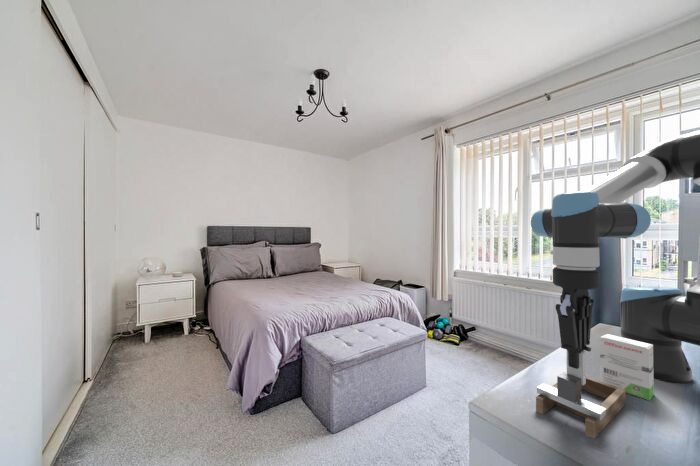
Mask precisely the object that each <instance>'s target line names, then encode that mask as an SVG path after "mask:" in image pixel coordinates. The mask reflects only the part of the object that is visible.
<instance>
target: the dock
mask: <svg viewBox="0 0 700 466" xmlns="http://www.w3.org/2000/svg"><path fill="white" fill-rule="evenodd" d="M551 386H552V387H554V388H556V389H557V382H556V383H555V384H553V385H551ZM581 391H584V392H587V393H591V394H593V395H595V396H598V397H601V398H603V399H605V400H603V401H602V402H601V404H599V406H601V407H603V408H606V415H605V416H604V417H603V418H602V419H601V421H600V420H598V419H595V418H593V417H591V416H589V415H586V414H584V413H582V412H579V411H577V410H575V409H573V408H570V407H568V406H566V405H563V404H561V403H559V402H557V401H554V400H552V399H550V398H548V397H545V396H543V395H541V394H538V395H537V396H535V412H537V413H539V414H541V415H544V414H545V413H547V411H549V410H550V409H552V408H553V407H554V406H558V407H560V408H561V409H564V410H567V411H569V412H571V413H574V414H575V415H578V416H579V417H583V418H585V420H584V421H585V422H584V423H585V424H584V428H585V429H584V432H585V433H584V434H585V436H587V437H590V438H592V439H595V438H596V437H597V436H598V435H599V434H600V433H601V432H602V431H603V429H605V427H607V425H608V424H609V423H610V422H611V421H612V419H613V418H614V417H615V416H616V415H617V414H618V413H619V412H620V411H621V410H622V409H623V407H624V406H625V405H626V404H627V403H626V402H627V401H626V400H627V399H626V398H627V397H626V396H627V393H626V390H624V389H621V388H618V387H615V386H612V385H610V384H607V383H604V382H601V380H597V379H596V378H595V379H594V378H592V377H589V376H586V384H585V385H581Z"/></svg>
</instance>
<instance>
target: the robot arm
mask: <svg viewBox="0 0 700 466" xmlns="http://www.w3.org/2000/svg"><path fill="white" fill-rule="evenodd" d="M681 179H683V180H684V179H692V183H694V184H696V185H697V186H699V187H700V129H698V130H695V131H691V132H687V133H682V134H679V135H676V136H673V137H670V138H668V139H666V140H663V141H661V142H658V143H656V144H655V145H653V146H651V147H648V148H647V149H645V150H643V151H642V152H640V153H637V154H636V155H634V156H632V157H631V158H630V159H628V160H626V161H625V162H624V163H623V165H622V167H621V168H620V169H618V170H617V171H615V172H612V173H611V174H609V175H608V176H606V177H604V178H602V179H601V180H599V181H597V182H596V183H594V184H592V185H591V186H589V187H587V188H585V189H584V190H581V191H573V192H571V191H570V192H565V193H560V194H556V195H555V196H554V197H553V199H552V205H551V206H552V207H551V208H544V209H540V210H537V211H535V212H534V213H533V215H531V219H530V227H531V230H532V231H533V233H534V234H535V235H536V236H539V237H545V238H551V239H552V250H550V251H549V252H550V254H551V255H552V265H554V266H555V267H553V268H552V283H553V285H555V286H557V287H560V288H562V291H561V295H560V304H559V303H556V304H555V310H556V314H557V319H558V328H559V335H560V336H559V337H560V343H561V345H560V348H561V349H562V350H566V373H567V374H570V375H573V376H576V377H578V378H581V385H585V384H586V377H587V372H586V371H587V370H586V369H587V367H586V364H587V363H586V360H587V359H586V355H587V353H586V352H591V351H592V347H590V346H589V345H590V344H591V342H590V341H591V331H592V318H593V317H592V316H593V315H592V314H593V306H594V303H595V300H594V298H593V297H591V296H589V290H590V291H591V290H597V289H599V288H600V285H601V284H600V276H601V273H600V271H599V270H598V269H597V268H599V267H601V262H600V259H601V258H600V239H625V240H626V239H629V238H635V237H638V236H642V235H643V234H644V233H646V232H647V230H649V227H650V225H651V223H652V219H651V214H650V212H649V211H648V210H647V208H646V207H644V206H642V205H640V204H637V203H629V202H624V201H626V200H627V199H629V198H631V197H632V196H634V195H636V194H637V193H640V192H641V191H642V190H644V189H652V188H654V187H657V186H658V185H660V184H662V183H665V182H669V181H670V182H671V181H676V180H681ZM698 237H699V240H698V252H697V253H698V255H697V272H696V273H697V274H696V284H694V285H693V286H691V287H689V288H687V289H686V295H684V292H682V290H681V289H680V288H676V287H663V286H662V287H661V286H629V287H624V288H623V289H622V290H621V292H620V293H621V294H620V300H619V303H620V336H619V337H623V338H627V339H631V340H635V341H640V342H644V343H648V344H652V345H653V371H654V380H659V381H662V382H671V383H681V384H682V383H683V384H685V383H690V382H692V380H693V371H692V369H691V366H690V364H689V361H688V359H687V356H686V355H685V353H684V350H683V346H682V342H683V343H686V344H691V345H695V346H698V347H700V234H699V236H698Z"/></svg>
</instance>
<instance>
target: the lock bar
mask: <svg viewBox="0 0 700 466" xmlns="http://www.w3.org/2000/svg"><path fill="white" fill-rule="evenodd" d="M556 378H557V380H556V383H557V389H556V388H554V387H552V386H553V385H549V384H546V383H541V384H540V385H538V386H536V393H537V394H538V395H540V394H541V395H543V396H545V397H548V398H550V399H552V400H554V401H557V402H559V403H561V404H563V405H566V406H568V407H570V408H573V409H575V410H577V411H579V412H582V413H584V414H586V415H589V416H591V417H593V418H595V419H598V420H600V421H601V419H602V418H603V417H604V416H605V415H606V408H603V407H601V406H600V405H599V404H596V403H593V402H591V401H589V400H586V399H583V398H582V389H581V378H578V377H576V376H573V375H570V374H567V372H562V373H560V374H558V375H557V377H556Z"/></svg>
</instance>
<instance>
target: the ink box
mask: <svg viewBox="0 0 700 466" xmlns="http://www.w3.org/2000/svg"><path fill="white" fill-rule="evenodd" d="M599 338H600V339H599V344H600V345H599V350H600V351H599V359H600V361H599V364H600V365H599V366H600V369H599V371H600V372H599V373H600V374H599V375H600V381H601V382H604V383H607V384H610V385H612V386H615V387H618V388H621V389H624V390H626V394H630V395H632V396H635V397H638V398H641V399H644V400H647V401H651V399H652V398H653V396H654V395H655V389H654V388H655V382H654V380H655V379H654V371H653V345H652V344H648V343H644V342H640V341H635V340H631V339H627V338H623V337H620V336H618V335H615V334H614V335H613V334H609V333H606V334H604V335H602V336H600V337H599Z"/></svg>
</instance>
